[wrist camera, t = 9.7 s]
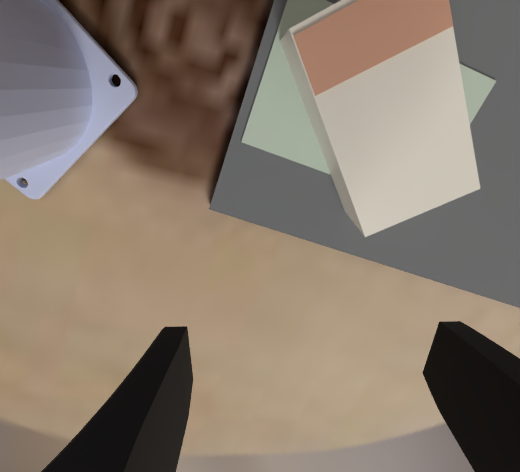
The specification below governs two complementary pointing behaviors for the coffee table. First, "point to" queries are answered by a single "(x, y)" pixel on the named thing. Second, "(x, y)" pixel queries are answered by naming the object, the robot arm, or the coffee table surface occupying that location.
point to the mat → (321, 183)
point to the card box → (386, 106)
